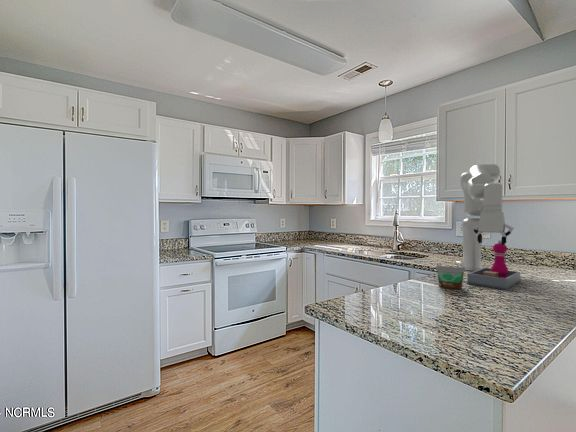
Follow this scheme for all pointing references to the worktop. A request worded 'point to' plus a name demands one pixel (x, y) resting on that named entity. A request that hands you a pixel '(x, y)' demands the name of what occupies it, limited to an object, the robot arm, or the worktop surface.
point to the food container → (450, 277)
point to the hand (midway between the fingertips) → (491, 243)
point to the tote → (493, 279)
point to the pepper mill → (500, 260)
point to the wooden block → (490, 274)
